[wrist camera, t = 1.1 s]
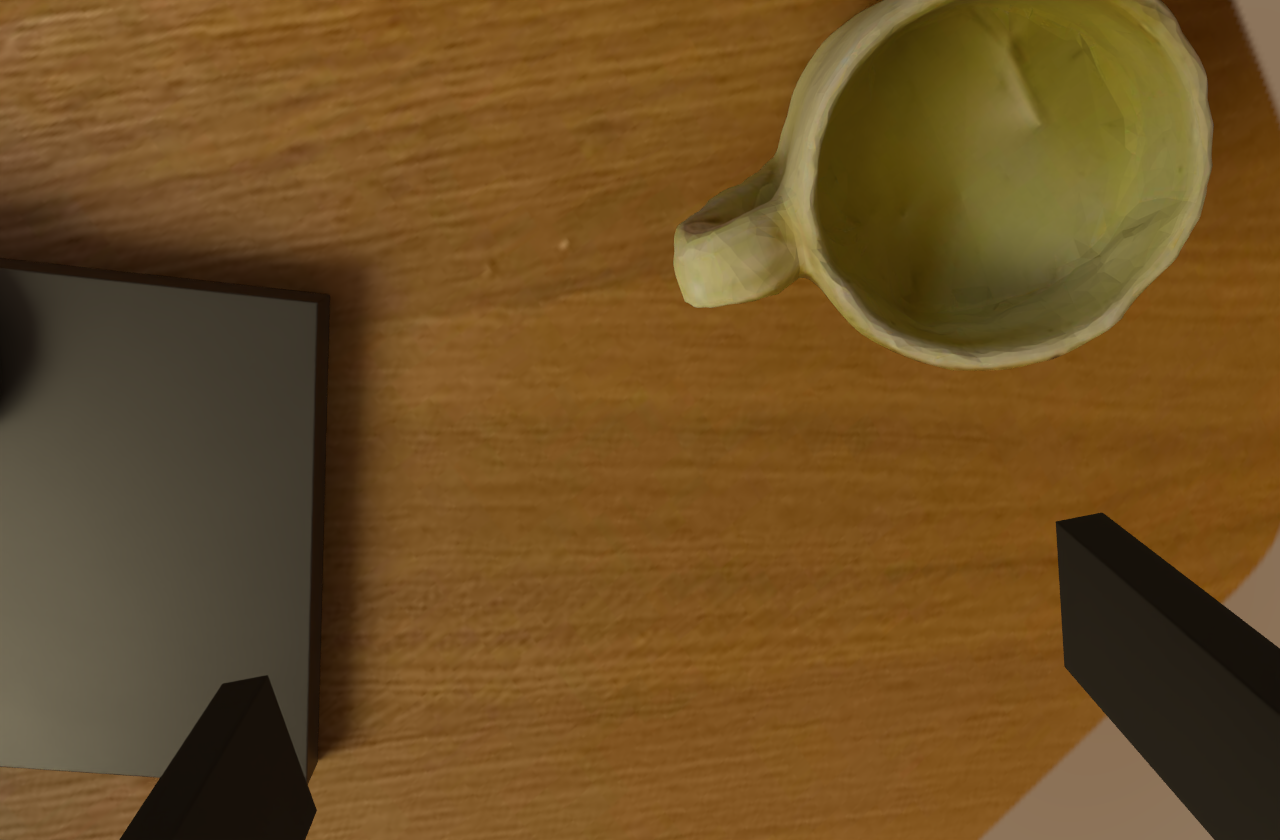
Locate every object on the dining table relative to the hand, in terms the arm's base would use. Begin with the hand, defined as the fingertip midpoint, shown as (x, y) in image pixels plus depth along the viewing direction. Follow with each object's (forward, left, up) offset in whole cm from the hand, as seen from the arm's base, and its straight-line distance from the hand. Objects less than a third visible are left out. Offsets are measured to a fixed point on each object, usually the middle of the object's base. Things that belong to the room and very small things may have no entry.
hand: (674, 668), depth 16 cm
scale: (+6, -17, -16) cm, 24 cm away
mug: (-8, +6, -16) cm, 19 cm away
